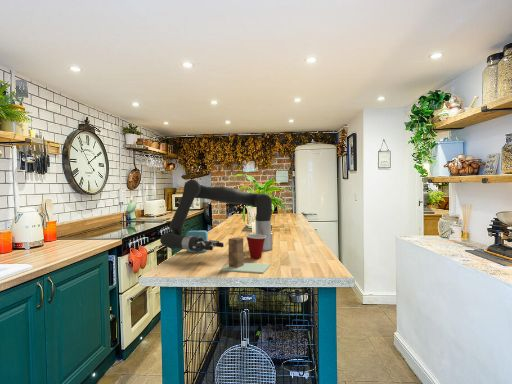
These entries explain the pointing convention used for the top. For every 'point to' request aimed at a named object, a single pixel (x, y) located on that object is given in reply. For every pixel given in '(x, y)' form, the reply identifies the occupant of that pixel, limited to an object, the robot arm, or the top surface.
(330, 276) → the top surface
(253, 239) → the plastic cup
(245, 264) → the mat
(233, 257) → the walnut block
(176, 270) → the top surface
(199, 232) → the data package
